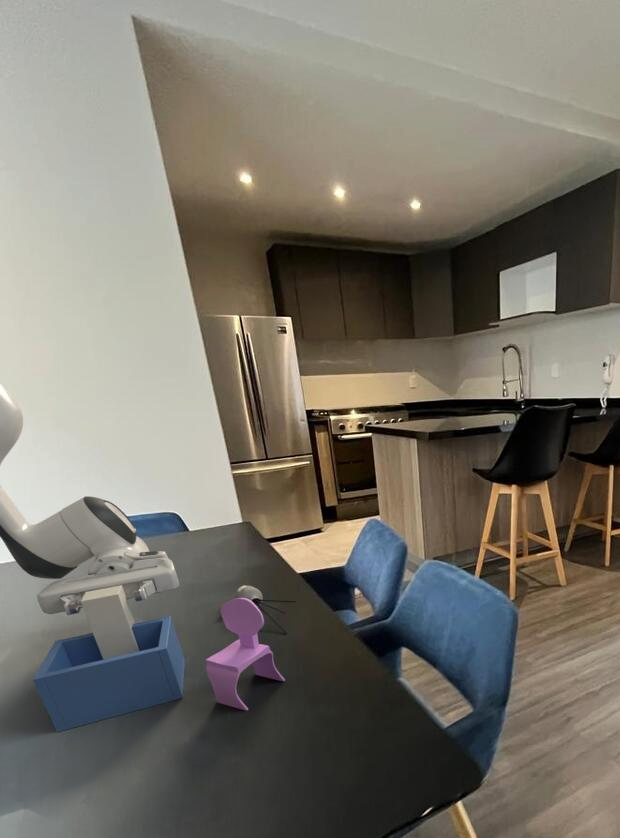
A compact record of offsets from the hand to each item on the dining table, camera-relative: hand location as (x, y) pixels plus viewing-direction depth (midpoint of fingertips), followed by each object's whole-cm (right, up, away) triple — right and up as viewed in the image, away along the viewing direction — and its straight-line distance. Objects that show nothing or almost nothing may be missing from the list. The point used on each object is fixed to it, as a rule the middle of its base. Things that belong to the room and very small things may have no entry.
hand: (106, 603), depth 79 cm
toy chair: (+24, -14, -2) cm, 28 cm away
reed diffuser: (+16, -5, +22) cm, 28 cm away
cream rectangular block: (+1, -9, +3) cm, 10 cm away
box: (+3, -14, 0) cm, 15 cm away
